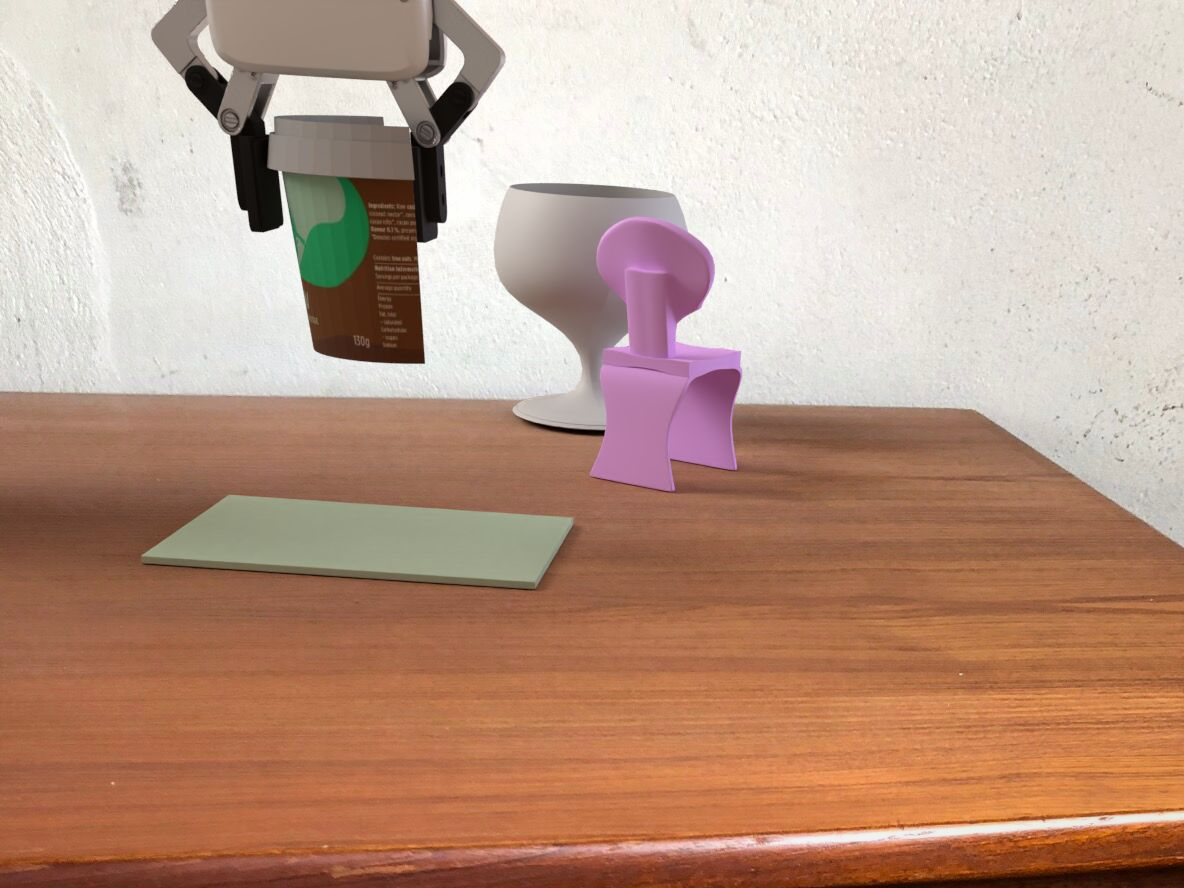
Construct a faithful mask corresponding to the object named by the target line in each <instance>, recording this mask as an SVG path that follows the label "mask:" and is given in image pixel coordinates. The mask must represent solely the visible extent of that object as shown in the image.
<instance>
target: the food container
mask: <svg viewBox="0 0 1184 888" xmlns="http://www.w3.org/2000/svg"><path fill="white" fill-rule="evenodd" d="M273 127H274V128H273V130H274V131H270V132H269V133H268V134H269V146H268V160H267V167H268V168H270V169H273V170H277V171H279V172H281V176H282V181H283V186H284V192H285V199H286V205H287V209H288V215H289V220H290V226H291V231H292V238H293V242H294V247H295V253H296V254H295V255H296V259H297V264H298V271H299V276H300V281H301V286H302V292H303V298H304V304H305V309H306V314H307V320H308V326H309V331H310V337H311V343H312V347H313V350H314V352H316V353H318V354H320V355H323V356H327V357H330V358H335V359H339V360H346V361H354V362H365V363H375V364H376V363H378V364H393V365H395V364H398V365H399V364H401V365H425V364H426V357H425V342H424V325H423V311H422V310H423V309H422V296H421V282H420V281H421V280H420V279H421V278H420V267H419V251H418V242H417V234H416V219H415V204H414V189H413V180H415V179H414V168H413V158H412V147H411V141H410V132H411V130H410V128H409V126H399V125H385V121H384V116H379V115H378V116H377V115H347V114H346V115H345V114H344V115H343V114H288V115H287V114H283V115H276V116H273Z"/></svg>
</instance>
